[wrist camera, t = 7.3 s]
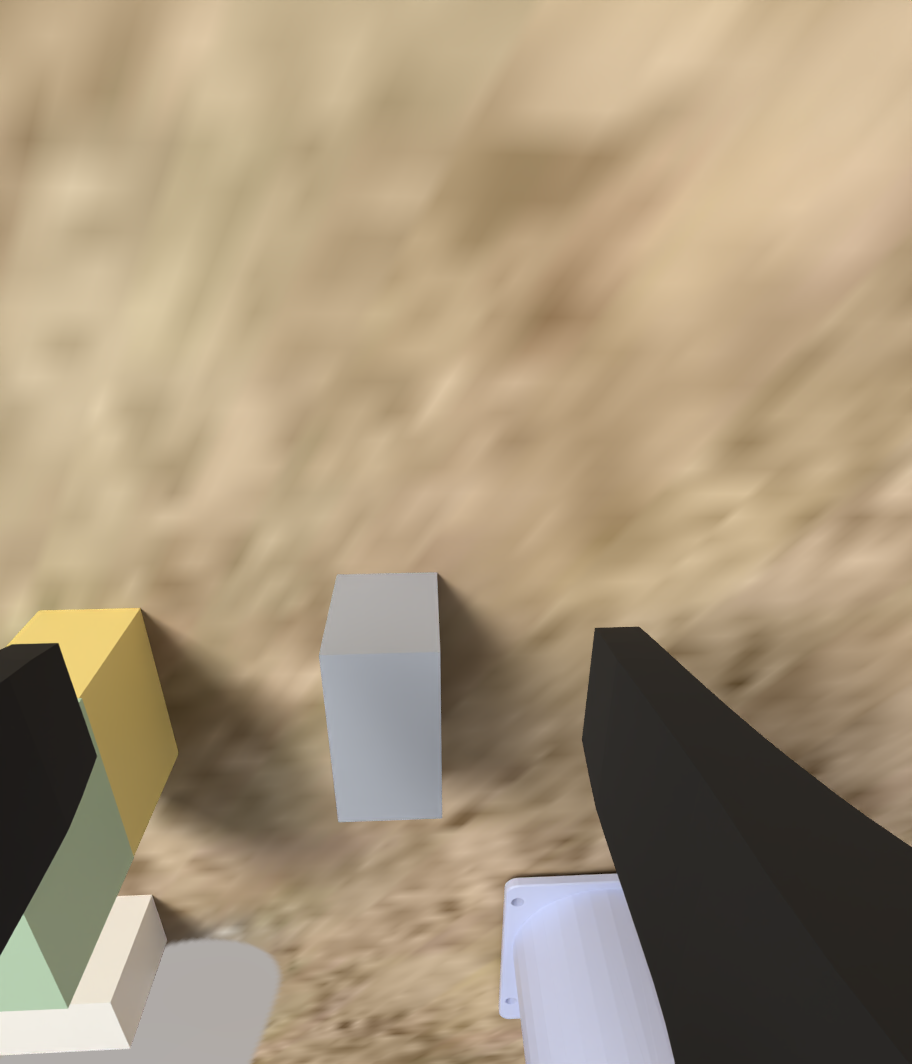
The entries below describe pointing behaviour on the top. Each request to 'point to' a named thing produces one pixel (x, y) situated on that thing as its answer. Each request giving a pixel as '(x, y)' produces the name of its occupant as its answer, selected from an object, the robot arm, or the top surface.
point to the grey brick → (384, 696)
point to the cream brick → (98, 989)
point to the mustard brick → (116, 701)
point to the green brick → (68, 903)
